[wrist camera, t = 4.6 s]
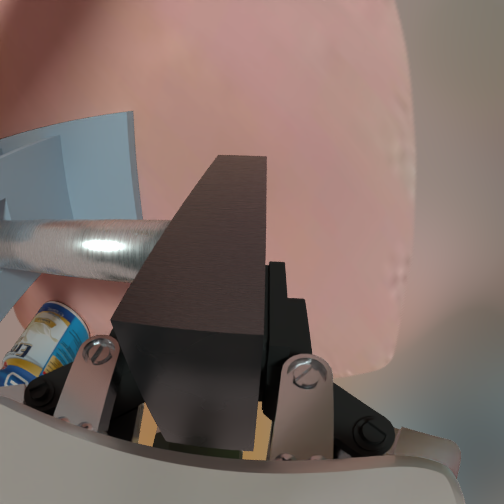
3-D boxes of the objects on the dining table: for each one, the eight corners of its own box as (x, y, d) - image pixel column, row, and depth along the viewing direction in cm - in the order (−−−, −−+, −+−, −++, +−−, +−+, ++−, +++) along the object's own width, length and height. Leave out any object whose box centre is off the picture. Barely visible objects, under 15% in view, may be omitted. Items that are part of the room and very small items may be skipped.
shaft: (48, 233, 21) (-58, 348, 9) (33, 168, 18) (-103, 263, 6) (262, 241, 21) (253, 451, 8) (266, 156, 18) (263, 334, 5)
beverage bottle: (76, 350, 36) (24, 461, 19) (35, 312, 33) (-32, 418, 16) (102, 333, 34) (41, 466, 16) (55, 288, 30) (-29, 414, 13)
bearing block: (1, 236, 27) (-68, 302, 15) (-20, 145, 21) (-107, 193, 9) (146, 242, 26) (74, 356, 14) (133, 110, 20) (4, 150, 8)
